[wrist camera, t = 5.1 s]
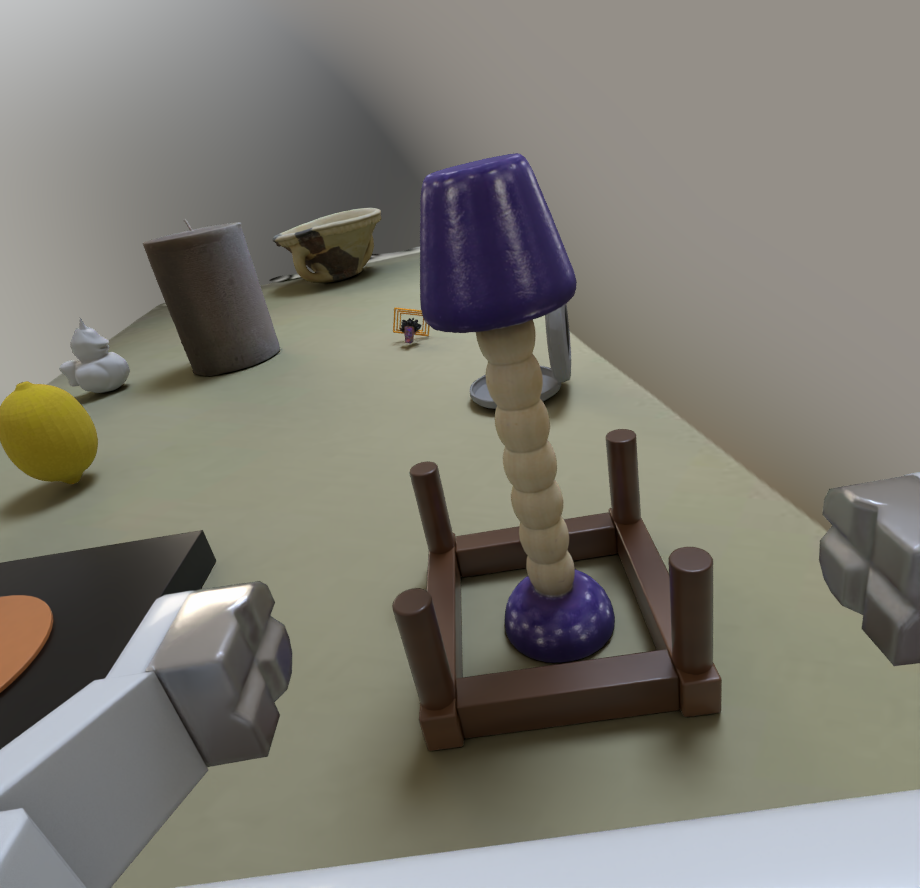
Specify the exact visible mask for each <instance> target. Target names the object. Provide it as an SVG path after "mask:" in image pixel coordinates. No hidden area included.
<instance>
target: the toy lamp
mask: <svg viewBox="0 0 920 888" xmlns="http://www.w3.org/2000/svg"><path fill="white" fill-rule="evenodd" d="M575 290H576V278H575V274H574V271H573V268H572V266H571V263H570V261H569V258H568V256H567V253H566V250H565V248H564V245H563V243H562V241H561V238H560V235H559V233H558V230H557V228H556V226H555V223H554V220H553V218H552V215H551V213H550V210H549V208H548V206H547V203H546V201H545V199H544V196H543V194H542V191H541V189H540V187H539V184H538V182H537V179H536V177H535V175H534V173H533V170H532V168H531V166H530V165H529V163H528V161H527V160H526V158H525V157H524V156H522V155H521V154H518V153H516V154H508V155H503V156H497V157H492V158H487V159H483V160H479V161H474V162H470V163H466V164H462V165H458V166H454V167H450V168H446V169H443V170H440V171H436V172H434V173H431V174H429V175H427V177H426V178H425V179H424V181H423V185H422V191H421V223H420V301H421V311H422V315H423V318H424V320H425V322H426V323H427V324H428V325H429V326H431V327H432V328H433V329H435V330H439V331H443V332H453V333H457V332H458V333H468V332H476V336H477V341H478V344H479V347H480V350H481V352H482V354H483V356H484V357H485V358H486V359H487V360H488V365H487V368H486V384H487V388H488V391H489V394H490V396H491V398H492V399H493V401H494V402H495V403H496V405H497V408H496V411H495V426H496V430H497V433H498V436H499V438H500V440H501V442H502V443H503V444H504V445H505V449H504V454H503V465H504V470H505V473H506V475H507V478H508V480H509V481H510V483H511V484H512V485H513V487H512V492H511V501H512V506H513V509H514V512H515V514H516V516H517V518H518V519H519V520H520V521H521V522H520V527H519V536H520V541H521V544H522V547H523V549H524V551H525V552H526V554H527V555H528V556H527V563H526V568H527V573H528V576H527V577H525V578H524V579H523V580H522V581H521V582H520V583H519V584H518V585H517V586H516V588H515V589H514V590H513V592H512V594H511V595H510V597H509V599H508V603H507V606H506V611H505V630H506V634H507V636H508V638H509V640H510V642H511V643H512V644H513V645H514V647H515V648H516V649H517V650H518V651H519V652H521V653H523V654H524V655H526V656H528V657H530V658H533V659H536V660H540V661H544V662H552V663H556V662H558V663H563V662H569V661H575V660H579V659H581V658H584V657H587V656H589V655H591V654H593V653H595V652H596V651H598V650H599V649H600V648H602V647H603V646H604V644H605V643H606V642H607V641H608V640H609V639H610V637H611V635H612V632H613V629H614V623H615V617H614V612H613V608H612V605H611V601H610V599H609V598H608V596H607V594H606V593H605V590H604V589H603V588H602V587H601V586H600V585H599V584H598V583H597V582H596V581H595V580H594V579H593V578H591V577H590V576H588V575H587V574H585V573H583V572H580V571H578V570H575V568H574V563H573V560H572V557H571V555H570V554H569V552H568V551H567V549H568V546H569V533H568V529H567V525H566V523H565V521H564V519H563V518H562V516H561V515H562V510H563V497H562V492H561V489H560V487H559V485H558V483H557V482H556V480H555V476H556V472H557V460H556V455H555V452H554V450H553V447H552V445H551V444H550V442H549V441H548V440H547V439H548V435H549V430H550V421H549V415H548V411H547V409H546V407H545V405H544V403H543V402H542V400H541V399H540V395H541V392H542V386H543V377H542V372H541V368H540V365H539V363H538V361H537V359H536V358H535V356H534V355H533V354H532V352H533V349H534V346H535V327H534V322H533V319H536V318H539V317H541V316H544V315H547V314H549V313H551V312H553V311H555V310H557V309H559V308H561V307H562V306H563V305H566V303H567V302H568V301H569V300H570V299H571V298H572V297H573V296H574V294H575Z"/></svg>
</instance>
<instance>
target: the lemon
mask: <svg viewBox="0 0 920 888" xmlns="http://www.w3.org/2000/svg"><path fill="white" fill-rule="evenodd" d="M0 441H1V444H2V446H3V448H4V450H5V452H6V454H7V455H8V457H9V458H10V460H11V461H12V462H13V463H14V464H15V465H16V466H17V467H18V468H19V469H20V470H22V471H23V472H24V473H26V474H27V475H29V476H31V477H33V478H35V479H39V480H42V481H50V482H54V481H61V482H64V483H67V484H75V483H77V482H79V481H80V478H81V476H82V473H83V472H84V471H85V470H86V469H87V468H88V467H89V466H90V465H91V463H92V462H93V460H94V458H95V456H96V453H97V447H98V438H97V433H96V429H95V426H94V424H93V422H92V420H91V418H90V416H89V415H88V413H87V412H86V410H85V409H84V408H83V406H82V405H81V404H80V403H79V402H78V401H77V400H76V399H75V398H74V397H73V396H72V395H71V394H69V393H68V392H66V391H64V390H62V389H60V388H57V387H54V386H50V385H42V384H32V383H30V382H22V383H19V384H18V385H17V386H16V389H15V391H14V392H12V393H11V394H10V395H9V396H8V397H6V399H5V400H4V401H3V402H2V404H1V406H0Z"/></svg>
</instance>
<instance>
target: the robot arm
mask: <svg viewBox="0 0 920 888" xmlns="http://www.w3.org/2000/svg"><path fill="white" fill-rule="evenodd" d="M823 515H824V517H825V518H826V519H827V520H828V521H829V522H830V523H831V524H832V527H831V528H830V529H829V530H828V532H827V533H826V534H825V535H824V536H823V538H822V539H821V540H820V552H819V561H820V565H821V569H822V573H823V577H824V580H825V582H826V584H827V585H828V587H829V589H830V591H831V593H832V594H833V595H834V596H835V598H836V599H837V600H838V601H839V603H840V604H841V605H842V606H844V607H846V608H849V609H851V610H853V611H855V612H857V613H860V614H862V615H863V622H862V630H863V631H864V632H865V633H866V634H867V635H868V637H869V638H870V639H871V640H872V641H873V642H874V644H875V645H876V646H877V647H878V648H879V649H880V650H881V652H882V653H883V654H884V655H885V656H886V657H887V659H888V660H889V661H890V662H891V663H892V664H893V666H898V665H907V664H915V663H920V472H917V473H912V474H907V475H904V476H901V477H895V478H890V479H884V480H878V481H873V482H867V483H861V484H855V485H850V486H844V487H838V488H833V489H829V491H828V493H827V495H826V497H825V499H824V506H823ZM274 604H275V601H274V599H273V597H272V595H271V592H270V590H269V588H268V586H267V585H266V584H264V583H262V582H261V581H256V582H249V583H242V584H235V585H227V586H220V587H213V588H206V589H199V590H196V591H186V592H180V593H174V594H168V595H164V596H162V597H160V598H158V599H156V600H155V602H154V603H153V605H152V606H151V608H150V609H149V611H148V613H147V614H146V616H145V617H144V619H143V620H142V622H141V623H140V625H139V627H138V628H137V630H136V631H135V633H134V634H133V636H132V638H131V639H130V641H129V642H128V644H127V645H126V647H125V648H124V650H123V652H122V653H121V655H120V656H119V658H118V659H117V661H116V662H115V664H114V666H113V667H112V669H111V670H110V672H109V673H108V675H107V676H106V678H105V679H100V680H94V681H93V682H91V683H90V684H89V685H87V686H86V687H85V688H83V689H82V690H81V691H79V692H78V693H77V694H75V695H74V696H72V697H71V698H70V699H68V700H67V701H66V702H64V703H63V704H62V705H60V706H59V707H58V708H56V709H55V710H53V711H52V712H51V713H49V714H48V715H47V716H45V717H44V718H43V719H41V720H40V721H39V722H37V723H36V724H34V725H33V726H32V727H30V728H29V729H28V730H26V731H25V732H24V733H22V734H21V735H20V736H18V737H17V738H15V739H14V740H13V741H11V742H10V743H9V744H7V745H6V746H5V747H3V748H2V749H1V750H0V888H111V887H112V886H113V884H114V883H115V882H116V881H117V880H118V878H119V877H120V876H121V875H122V874H123V872H124V871H125V870H126V869H127V867H128V866H129V865H130V864H131V863H132V861H133V860H134V859H135V858H136V857H137V855H138V854H139V853H140V852H141V851H142V849H143V848H144V847H145V846H146V845H147V843H148V842H149V841H150V840H151V839H152V837H153V836H154V835H155V834H156V833H157V831H158V830H159V829H160V828H161V827H162V825H163V824H164V823H165V822H166V821H167V819H168V818H169V817H170V816H171V815H172V813H173V812H174V811H175V810H176V809H177V807H178V806H179V805H180V804H181V803H182V801H183V800H184V799H185V798H186V797H187V795H188V794H189V793H190V792H191V791H192V789H193V788H194V787H195V786H196V784H197V783H198V782H199V781H200V780H201V778H202V777H203V776H204V775H205V774H206V772H207V771H208V768H207V767H210V766H216V765H222V764H227V763H233V762H239V761H245V760H250V759H256V758H262V757H268V754H269V750H270V747H271V744H272V740H273V737H274V733H275V730H276V727H277V723H278V720H279V717H280V714H279V712H278V710H277V707H276V705H275V703H274V702H275V701H276V700H277V699H278V698H279V697H280V696H281V695H282V694H283V693H284V692H285V691H286V690H287V689H288V685H289V681H290V677H291V674H292V649H291V644H290V639H289V636H288V633H287V631H286V628H285V626H284V625H283V624H282V623H280V622H279V621H277V620H276V619H274V618H273V617H272V616H270V615H271V612H272V609H273V606H274ZM177 888H920V789H918V790H910V791H903V792H895V793H887V794H880V795H872V796H865V797H857V798H850V799H842V800H834V801H827V802H819V803H812V804H804V805H797V806H789V807H782V808H774V809H767V810H759V811H751V812H744V813H736V814H729V815H721V816H714V817H706V818H699V819H691V820H684V821H676V822H668V823H661V824H653V825H646V826H638V827H631V828H623V829H616V830H608V831H601V832H593V833H585V834H578V835H570V836H563V837H555V838H548V839H540V840H533V841H525V842H518V843H510V844H503V845H495V846H487V847H480V848H472V849H465V850H457V851H449V852H442V853H434V854H427V855H419V856H411V857H404V858H396V859H389V860H381V861H373V862H366V863H358V864H351V865H343V866H335V867H328V868H320V869H313V870H305V871H297V872H290V873H282V874H275V875H267V876H259V877H252V878H244V879H237V880H229V881H222V882H214V883H207V884H199V885H192V886H184V887H177Z"/></svg>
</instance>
